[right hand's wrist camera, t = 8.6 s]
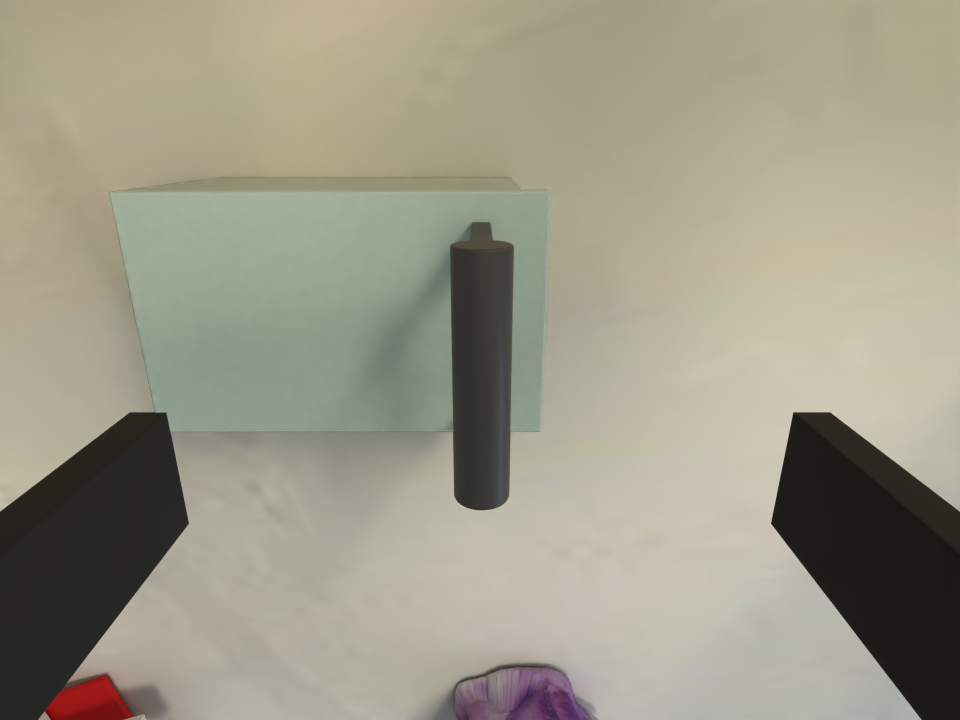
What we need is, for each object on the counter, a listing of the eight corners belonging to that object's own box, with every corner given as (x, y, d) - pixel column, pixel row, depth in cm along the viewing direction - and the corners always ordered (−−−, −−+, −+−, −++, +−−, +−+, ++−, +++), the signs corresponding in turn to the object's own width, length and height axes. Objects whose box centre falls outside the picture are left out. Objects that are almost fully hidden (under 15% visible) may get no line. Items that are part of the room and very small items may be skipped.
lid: (548, 189, 22) (583, 212, 15) (539, 421, 26) (564, 536, 18) (124, 189, 22) (-58, 212, 15) (170, 421, 26) (41, 537, 18)
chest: (511, 177, 31) (523, 189, 22) (508, 353, 34) (517, 421, 26) (220, 177, 31) (124, 189, 22) (246, 353, 34) (171, 421, 26)
